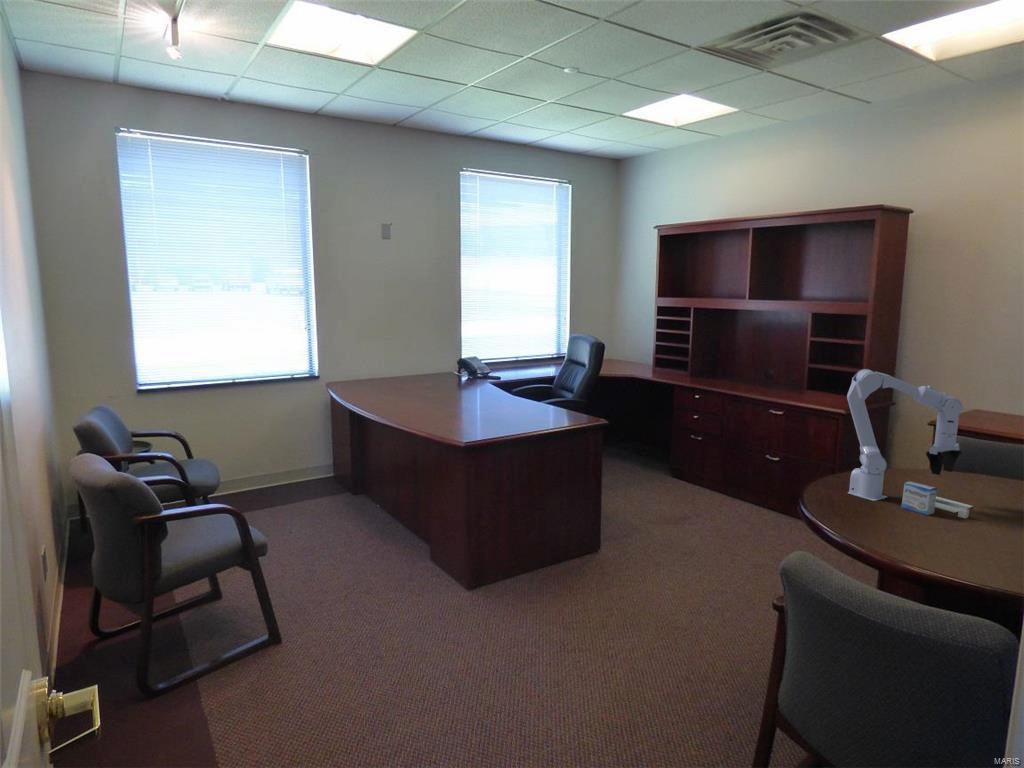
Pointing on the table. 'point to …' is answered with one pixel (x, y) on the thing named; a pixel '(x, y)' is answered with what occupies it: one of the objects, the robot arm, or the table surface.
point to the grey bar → (952, 504)
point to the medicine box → (919, 498)
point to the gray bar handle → (963, 513)
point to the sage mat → (949, 508)
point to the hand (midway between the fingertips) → (941, 472)
